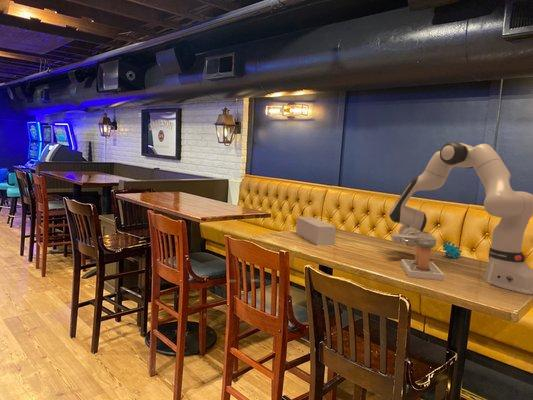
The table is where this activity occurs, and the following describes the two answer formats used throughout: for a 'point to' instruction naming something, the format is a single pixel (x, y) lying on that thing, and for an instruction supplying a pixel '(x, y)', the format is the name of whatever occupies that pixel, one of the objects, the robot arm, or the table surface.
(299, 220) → the grey rectangular brick
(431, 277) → the housing
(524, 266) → the robot arm
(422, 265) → the grey capped peg
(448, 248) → the gear
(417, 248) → the brown pin with head
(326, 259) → the table surface
